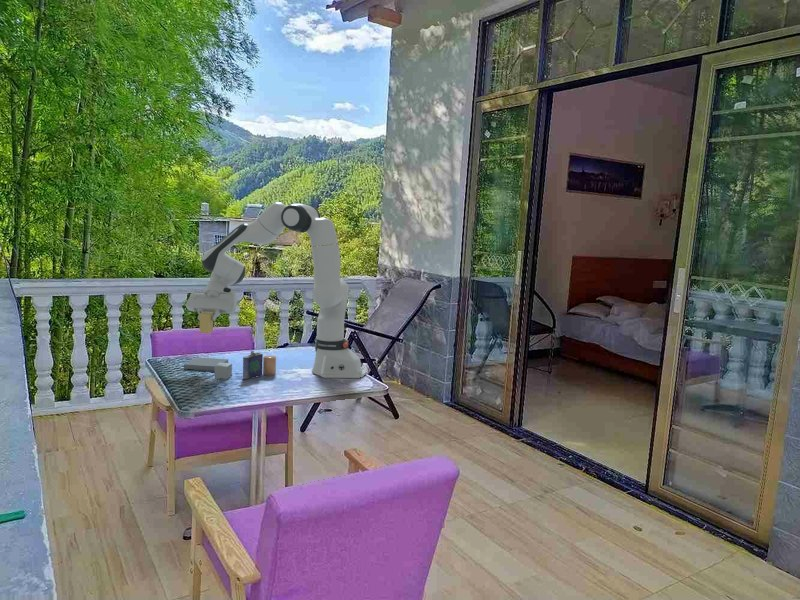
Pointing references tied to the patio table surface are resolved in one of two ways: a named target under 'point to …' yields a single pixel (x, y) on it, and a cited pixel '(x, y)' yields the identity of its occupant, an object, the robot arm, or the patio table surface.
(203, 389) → the patio table surface
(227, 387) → the patio table surface
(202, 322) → the ochre block
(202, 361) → the slate tile
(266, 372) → the brown upright cylinder
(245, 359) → the flask
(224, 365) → the grey block
